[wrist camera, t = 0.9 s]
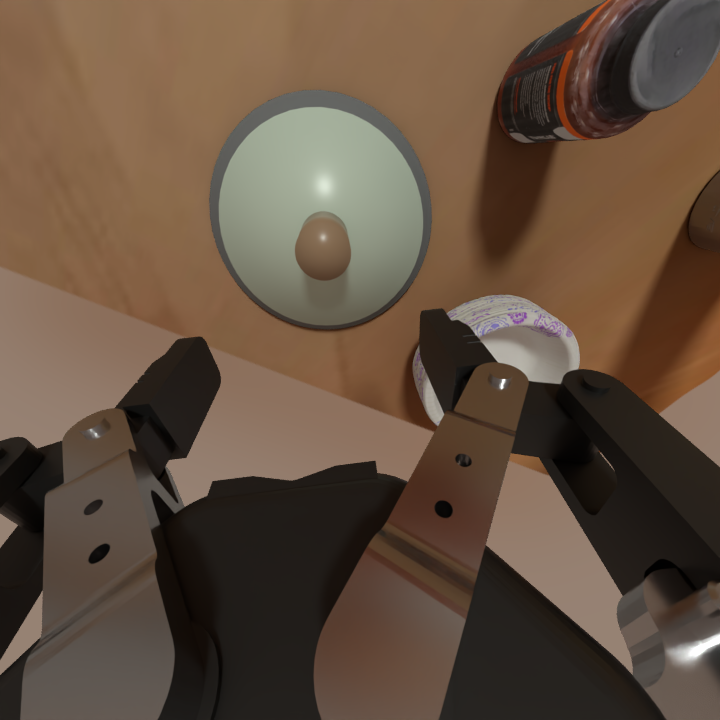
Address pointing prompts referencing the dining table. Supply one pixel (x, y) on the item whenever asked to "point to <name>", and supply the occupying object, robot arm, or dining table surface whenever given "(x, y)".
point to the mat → (334, 102)
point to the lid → (320, 216)
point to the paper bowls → (510, 342)
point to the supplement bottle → (608, 69)
